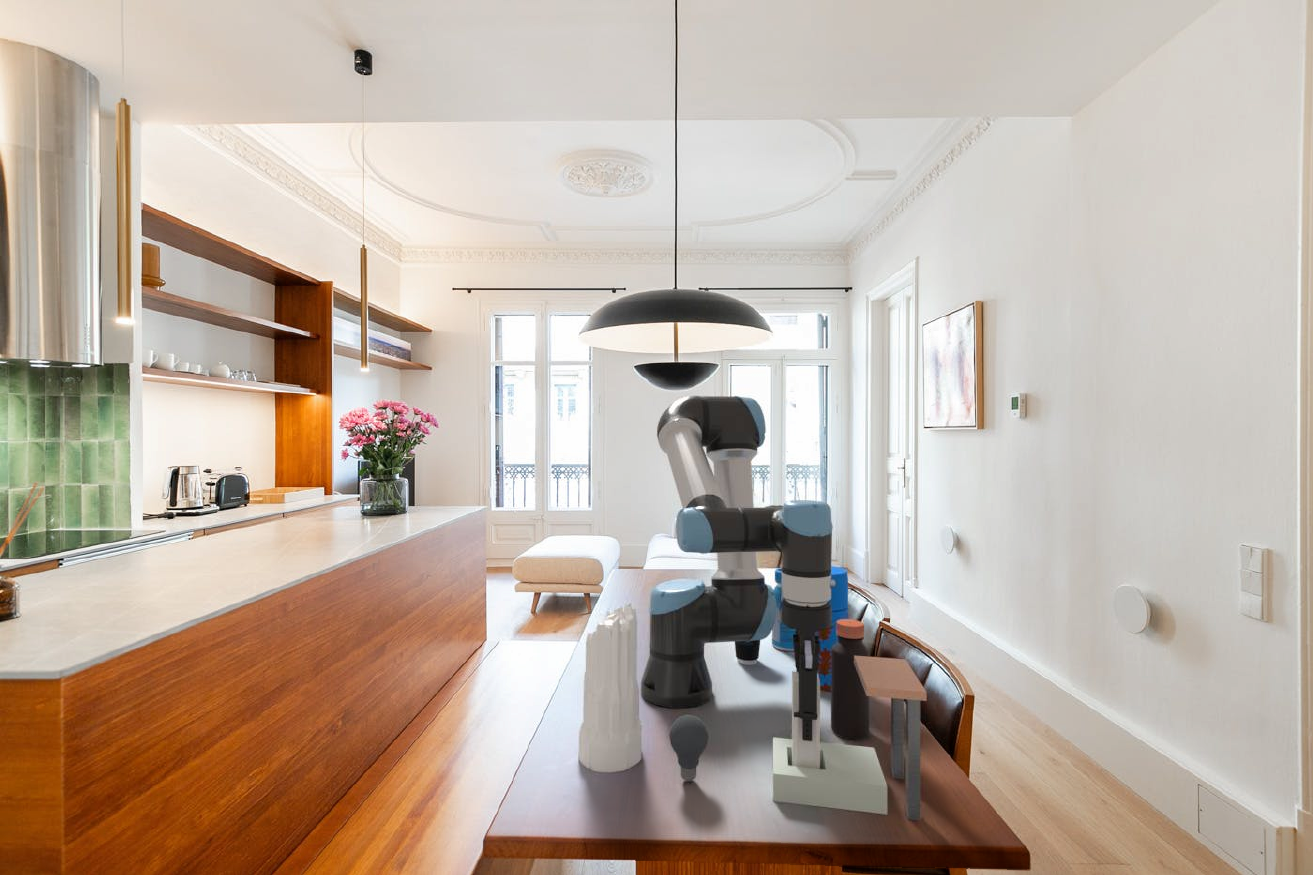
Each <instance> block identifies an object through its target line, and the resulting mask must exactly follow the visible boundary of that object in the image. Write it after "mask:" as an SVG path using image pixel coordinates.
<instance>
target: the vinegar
mask: <svg viewBox="0 0 1313 875" xmlns="http://www.w3.org/2000/svg"><path fill="white" fill-rule="evenodd" d="M836 633H837V637H838V641H837V642H836V643H835V644H834V645H833V646H832V647H831V691H830V729H831V731H832V732H833V733H834V734H835V735H837V736H839V737H841V738H842V739H847V740H853V741H855V740H857V741H858V740H859V741H860V740H863V739H866V738H868V737H869V735H870V696H866V693H865V690H864V688H863V685H862V683H861V680H860V677H859V675H858V672H857V670H856V667H855V665H854V656H866V657H871V655H870V651H869V648H867V647H866V645H864V643H863V640H865V623H864V622H862V621H859V620H857V619H850V618H848V619H841V620H838V621H837V622H836Z"/></svg>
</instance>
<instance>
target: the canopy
mask: <svg viewBox="0 0 1313 875" xmlns="http://www.w3.org/2000/svg"><path fill="white" fill-rule="evenodd" d="M854 665H855V667H856V670H857V672H858V675H859V677H860V680H861V683H862V685H863V688H864V690H865V693H866V696H869V697H875V698H878V697H879V698H886V699H887V698H889V699H890V774H891V777H892V779H894V780H905V815H906V816H907V820H911V821H918V822H919V821H920V822H921V701H924V702H927V701H928V700H927V698H928V696H927V693H928V692H927V690H926V689H925V687H924V685H923V684H922V683H921V681H920V680H919V678H918V676H917V675H916V674H915V672H914V671H913V669H912V667H911V665H910V664H909V662H908V660H906V659H905V658H904V659H903V658H894V657H893V658H891V657H880V656H879V657H878V656H870V657H866V656H854ZM904 736H905V737H904ZM904 740H905V741H904ZM904 744H905V745H904ZM904 751H905V752H904ZM904 753H905V754H904ZM904 757H905V758H904ZM904 769H905V770H904ZM904 772H905V773H904ZM904 776H905V777H904Z"/></svg>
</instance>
